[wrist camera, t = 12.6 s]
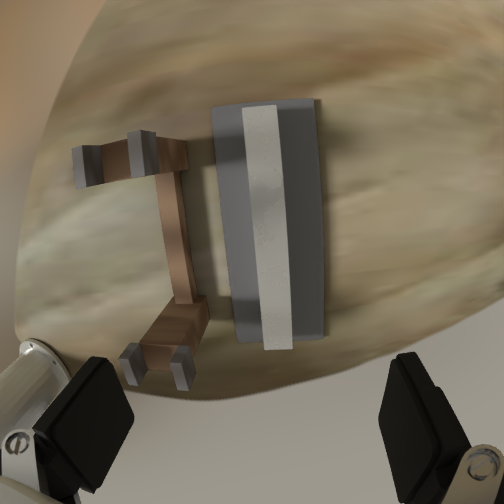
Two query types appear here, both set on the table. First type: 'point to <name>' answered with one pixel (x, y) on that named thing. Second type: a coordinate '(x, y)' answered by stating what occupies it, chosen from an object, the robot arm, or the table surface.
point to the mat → (297, 216)
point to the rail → (269, 223)
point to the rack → (176, 244)
